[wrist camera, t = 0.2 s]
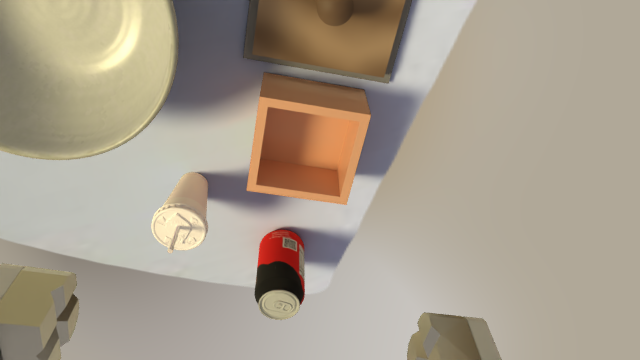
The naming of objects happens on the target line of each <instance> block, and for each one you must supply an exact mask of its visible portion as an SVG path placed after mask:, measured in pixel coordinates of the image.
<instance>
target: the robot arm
mask: <svg viewBox="0 0 640 360" xmlns="http://www.w3.org/2000/svg"><path fill="white" fill-rule="evenodd" d="M76 286H77V281H76V274H74V273H72V272H64V271H57V270H50V269H43V268H35V267H28V266H18V265H11V264H4V263H2V264H1V265H0V360H60V359H61V352H60V347H61V346H62V345H64V344H65V343H66V342H68V341H70V338H71V336H72V334H73V332H74V329H75V326H76V322H77V318H78V311H79V301H78V298H77V297H76V296H75V295H74V294H73V292H74V290H75V288H76ZM418 327H419V331H418V332H417V333H415V334H413V335H412V337H411V339H410V342H409V345H408V353H407V360H502V359H501V357H500V355H499V352H498V350H497V347H496V345H495V342H494V340H493V338H492V335H491V333H490V330H489V328H488V325H487V323H486V321H485V320H484V319H482V318H473V317H461V316H454V315H444V314H435V313H423V314H422V315H421V316H420V318H419V321H418Z"/></svg>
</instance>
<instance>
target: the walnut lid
mask: <svg viewBox="0 0 640 360" xmlns="http://www.w3.org/2000/svg"><path fill="white" fill-rule="evenodd" d="M404 4H405V0H259V5H258V12H257V20H256V28H255V36H254V44H253V52H252V54H253V55H258V56H264V57H270V58H275V59H281V60H286V61H292V62H298V63H303V64H309V65H315V66H320V67H326V68H331V69H337V70H343V71H348V72H354V73H360V74H365V75H371V76H376V77H382V78H384V76H385V72H386V68H387V65H388V61H389V58H390V54H391V50H392V47H393V43H394V40H395V36H396V32H397V29H398V25H399V22H400V18H401V14H402V11H403V7H404Z"/></svg>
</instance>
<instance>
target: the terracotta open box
mask: <svg viewBox="0 0 640 360" xmlns="http://www.w3.org/2000/svg"><path fill="white" fill-rule="evenodd" d="M370 117H371V113H370V109H369V106H368V102H367V98H366V95H365V91H364V90H363V89H357V88H351V87H346V86H340V85H334V84H328V83H323V82H317V81H311V80H305V79H300V78H294V77H288V76H282V75H277V74H271V73H265V72H264V74H263V80H262V86H261V91H260V97H259V105H258V112H257V119H256V126H255V133H254V140H253V147H252V154H251V162H250V169H249V176H248V183H247V190H246V191H252V192H259V193H267V194H274V195H281V196H288V197H295V198H302V199H309V200H316V201H323V202H330V203H337V204H344V205H347V201H348V197H349V194H350V190H351V187H352V183H353V179H354V176H355V172H356V168H357V165H358V161H359V157H360V154H361V150H362V147H363V143H364V139H365V136H366V132H367V128H368V125H369V121H370Z"/></svg>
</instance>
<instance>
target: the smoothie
mask: <svg viewBox="0 0 640 360" xmlns="http://www.w3.org/2000/svg"><path fill="white" fill-rule="evenodd" d="M207 195H208V182H207V180H206V178H205V177H204V176H202V175H201V174H198V173H194V172H191V173H186V174H185V175H183V176H182V177H181V179H180V180H179V182H178V184H177V185H176V187H175V188H174V190H173V191H172V193H171V194H170V196H169V197H168V199H167V201H166V202H165V204H164V205H163V207H161V208H160V209H158V210H157V212H156V213H155V214H154V217H153V220H152V224H151V228H152V232H153V235H154V236H155V238H156V239H157V240H158V241H159V242H160V243H161V244H163V245H164V246H166V247H168V253H172V252H173V250H174V249H175V250H189V249H193V248H195V247H197V246H199V245H200V244H201V243H202V242H203V241H204V239H205V237H206V234H207V232H208V224H207V220H206V211H207Z"/></svg>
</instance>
